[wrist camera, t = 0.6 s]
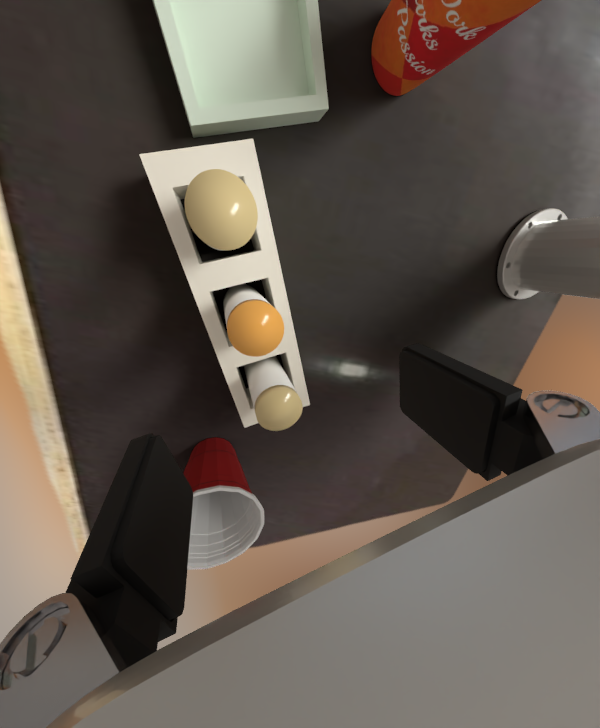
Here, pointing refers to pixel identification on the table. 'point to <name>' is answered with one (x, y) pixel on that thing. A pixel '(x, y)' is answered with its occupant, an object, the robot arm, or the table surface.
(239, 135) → the table surface
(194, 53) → the tray
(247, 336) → the white and orange cylinder
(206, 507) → the plastic cup
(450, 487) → the table surface
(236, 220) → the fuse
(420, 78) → the coffee cup
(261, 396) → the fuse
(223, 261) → the holder
